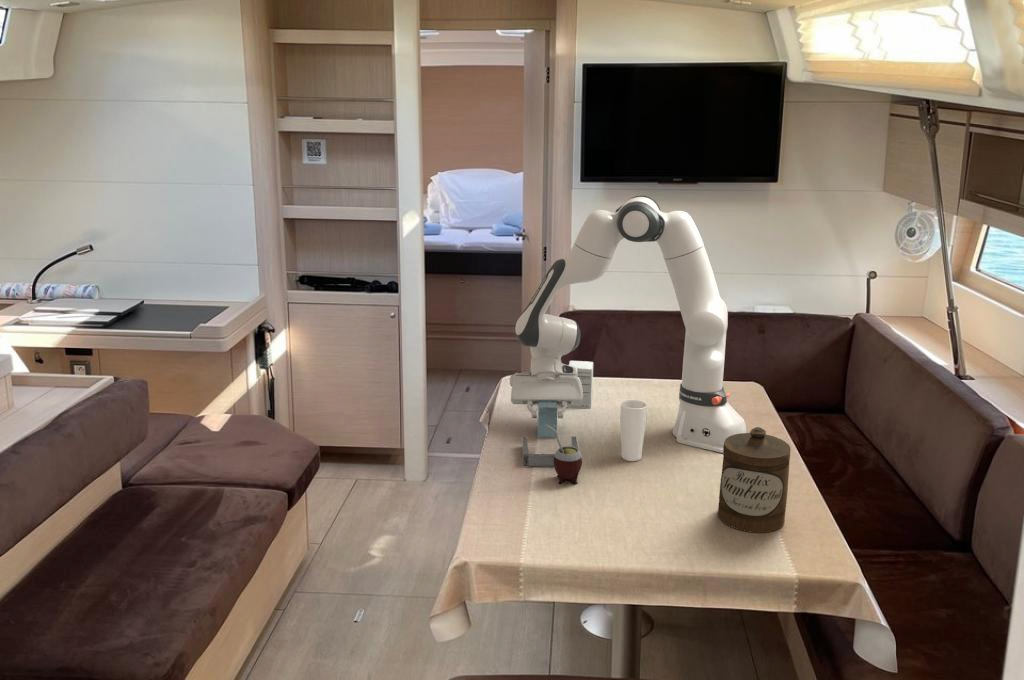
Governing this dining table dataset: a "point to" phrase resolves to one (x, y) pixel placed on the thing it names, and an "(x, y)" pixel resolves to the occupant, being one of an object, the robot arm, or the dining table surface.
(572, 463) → the mate gourd
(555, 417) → the block
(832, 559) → the dining table surface
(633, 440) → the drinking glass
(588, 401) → the supplement box
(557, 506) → the dining table surface
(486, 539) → the dining table surface
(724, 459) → the wooden container
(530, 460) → the coupler bay
